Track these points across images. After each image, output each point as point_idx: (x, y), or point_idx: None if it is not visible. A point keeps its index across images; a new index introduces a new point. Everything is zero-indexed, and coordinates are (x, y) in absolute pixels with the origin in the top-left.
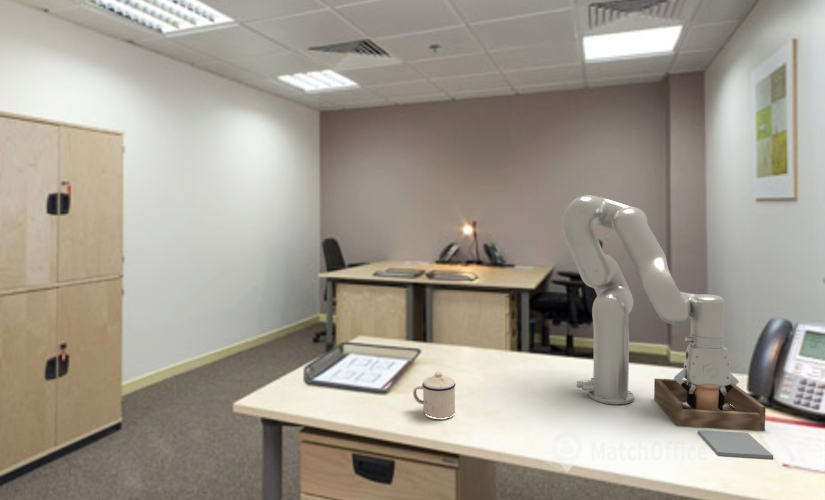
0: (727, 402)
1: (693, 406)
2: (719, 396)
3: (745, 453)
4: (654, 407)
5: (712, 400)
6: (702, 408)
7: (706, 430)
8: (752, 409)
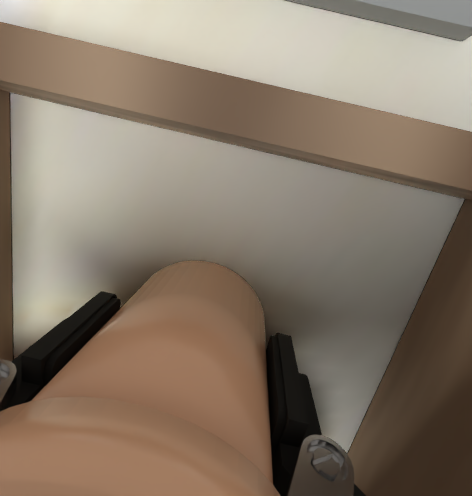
0: None
1: (287, 343)
2: (59, 366)
3: None
4: None
5: (162, 320)
6: (243, 308)
7: (416, 15)
8: None
